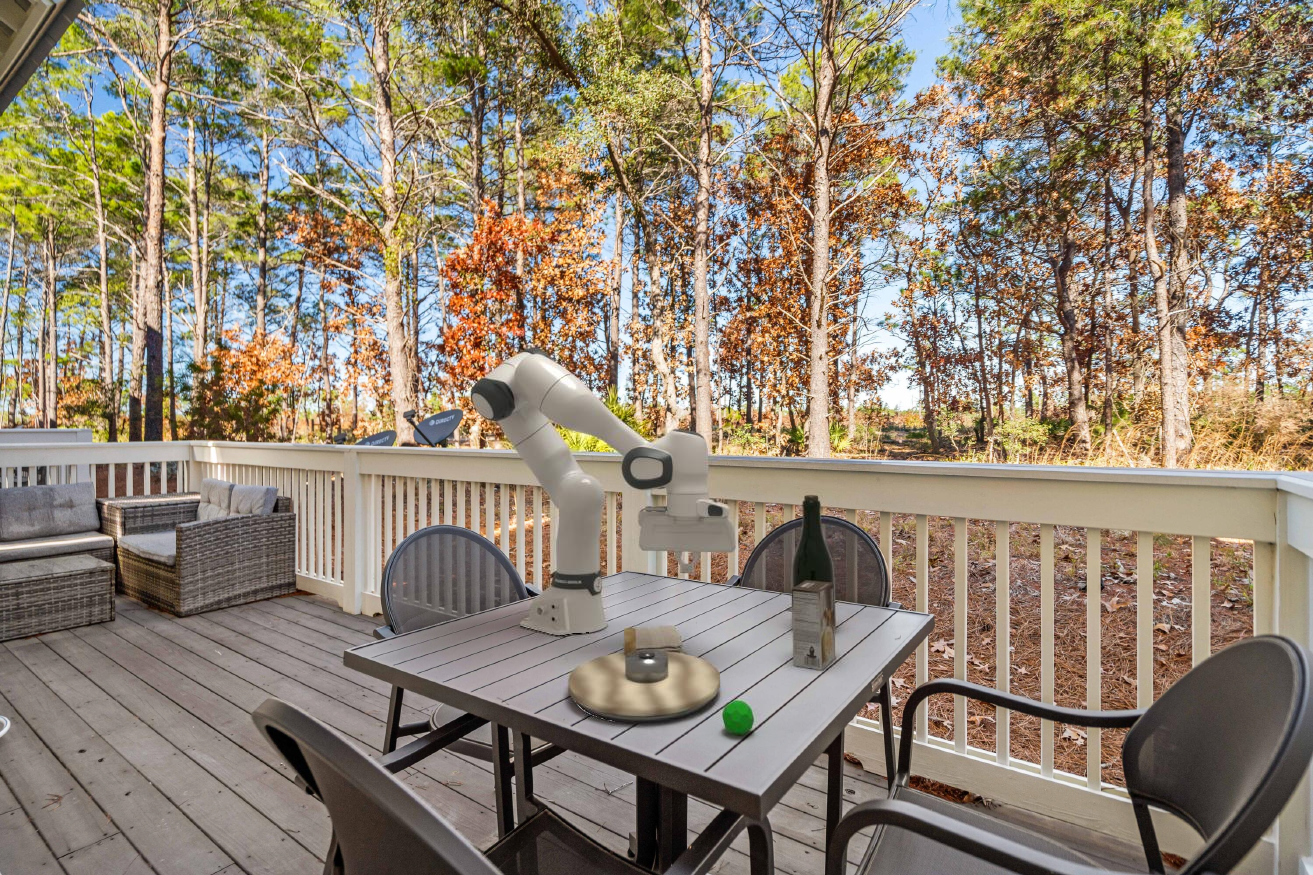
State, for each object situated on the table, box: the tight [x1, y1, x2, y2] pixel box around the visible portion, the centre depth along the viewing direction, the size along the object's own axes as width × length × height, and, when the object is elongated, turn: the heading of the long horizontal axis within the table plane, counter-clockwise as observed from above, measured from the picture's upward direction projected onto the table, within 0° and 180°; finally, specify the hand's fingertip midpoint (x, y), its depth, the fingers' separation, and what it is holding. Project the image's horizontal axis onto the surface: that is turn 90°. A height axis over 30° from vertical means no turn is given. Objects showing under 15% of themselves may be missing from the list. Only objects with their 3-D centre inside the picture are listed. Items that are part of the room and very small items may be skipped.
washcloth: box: [634, 624, 684, 654], centre depth 144 cm, size 12×18×3 cm, turn 7°
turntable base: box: [575, 643, 716, 725], centre depth 117 cm, size 26×26×4 cm
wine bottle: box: [791, 494, 837, 631], centre depth 153 cm, size 10×10×33 cm
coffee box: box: [791, 580, 836, 671], centre depth 131 cm, size 9×6×16 cm
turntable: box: [567, 627, 721, 716], centre depth 117 cm, size 28×28×6 cm
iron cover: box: [625, 649, 668, 683], centre depth 117 cm, size 8×8×4 cm
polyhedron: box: [721, 700, 755, 736], centre depth 100 cm, size 5×5×5 cm
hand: (687, 572), depth 132 cm, fingers closed
